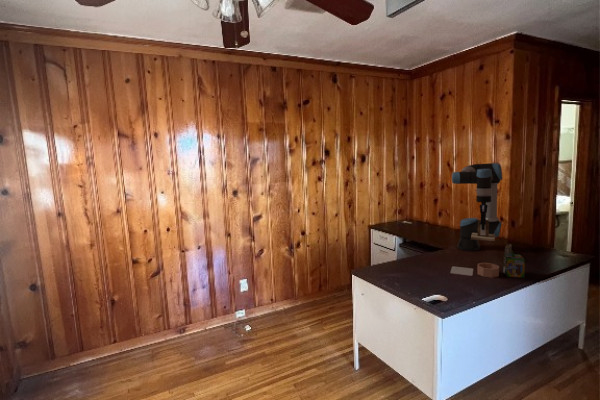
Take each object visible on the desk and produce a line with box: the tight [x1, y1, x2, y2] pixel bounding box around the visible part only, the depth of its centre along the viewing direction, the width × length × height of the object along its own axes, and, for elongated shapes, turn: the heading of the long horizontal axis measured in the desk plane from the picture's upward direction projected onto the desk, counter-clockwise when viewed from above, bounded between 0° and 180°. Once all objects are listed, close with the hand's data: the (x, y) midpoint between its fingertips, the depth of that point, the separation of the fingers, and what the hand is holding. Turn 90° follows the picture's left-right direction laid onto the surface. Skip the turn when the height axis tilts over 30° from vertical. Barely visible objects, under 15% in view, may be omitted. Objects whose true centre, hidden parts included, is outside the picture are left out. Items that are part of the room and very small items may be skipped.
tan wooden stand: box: [471, 219, 496, 242], centre depth 189 cm, size 12×12×11 cm
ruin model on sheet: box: [504, 243, 513, 254], centre depth 220 cm, size 11×3×10 cm, turn 140°
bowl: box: [477, 262, 500, 278], centre depth 190 cm, size 11×11×5 cm
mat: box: [449, 266, 474, 277], centre depth 198 cm, size 13×12×1 cm
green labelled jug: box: [502, 249, 526, 279], centre depth 187 cm, size 9×9×15 cm
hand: (483, 234), depth 189 cm, fingers closed on tan wooden stand, 3 cm apart
